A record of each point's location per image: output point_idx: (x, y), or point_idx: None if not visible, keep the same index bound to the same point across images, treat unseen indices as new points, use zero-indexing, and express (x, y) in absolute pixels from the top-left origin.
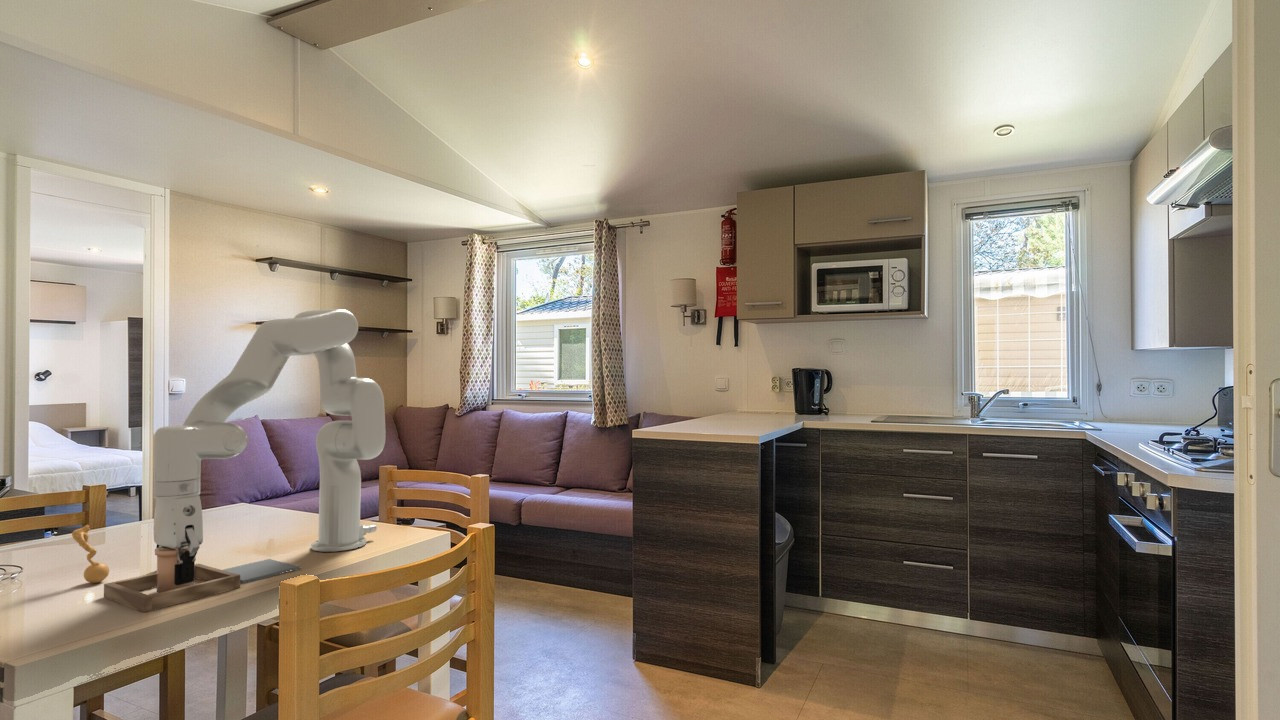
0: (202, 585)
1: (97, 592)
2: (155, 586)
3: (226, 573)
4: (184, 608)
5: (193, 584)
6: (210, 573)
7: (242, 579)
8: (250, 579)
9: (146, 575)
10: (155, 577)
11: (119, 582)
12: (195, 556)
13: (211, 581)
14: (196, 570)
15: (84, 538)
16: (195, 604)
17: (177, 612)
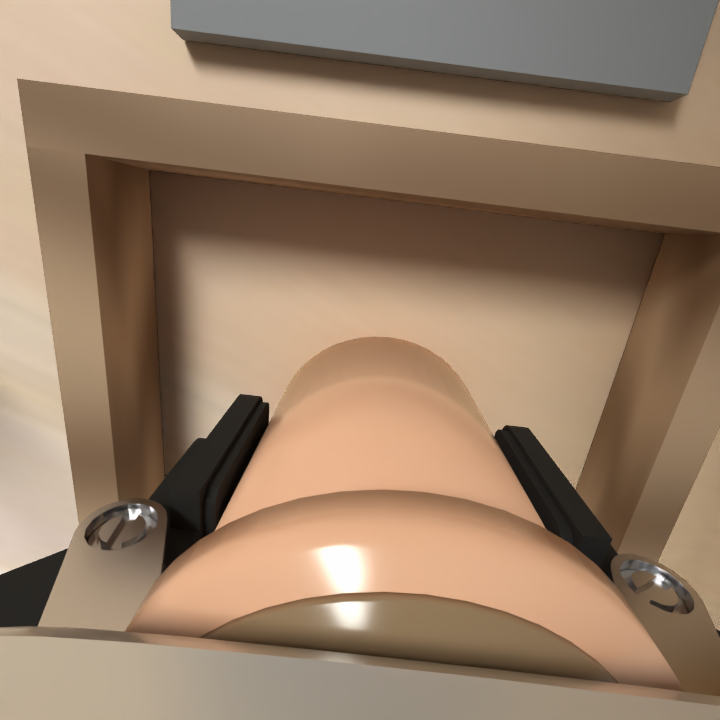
0: (690, 466)
1: (16, 564)
2: (160, 412)
3: (645, 204)
4: (695, 553)
5: (459, 377)
6: (383, 193)
7: (655, 75)
8: (708, 24)
9: (93, 492)
10: (126, 440)
11: None
12: (707, 612)
13: (711, 408)
14: (135, 162)
15: None
16: (700, 503)
17: (710, 592)
